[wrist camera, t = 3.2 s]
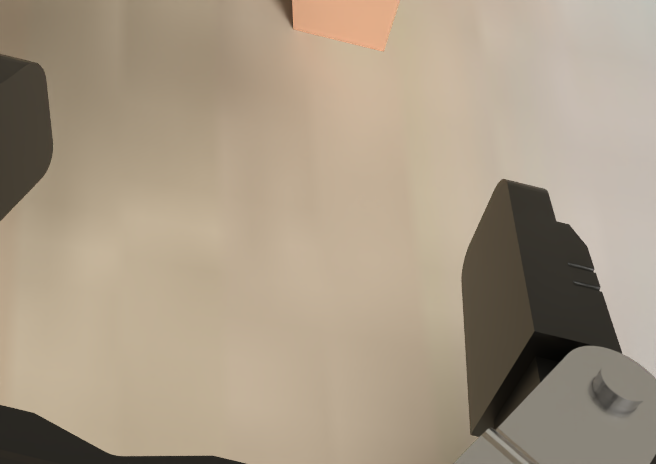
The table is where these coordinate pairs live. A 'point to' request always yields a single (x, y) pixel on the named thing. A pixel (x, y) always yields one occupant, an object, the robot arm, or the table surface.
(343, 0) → the peg
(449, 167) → the table surface
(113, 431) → the table surface
